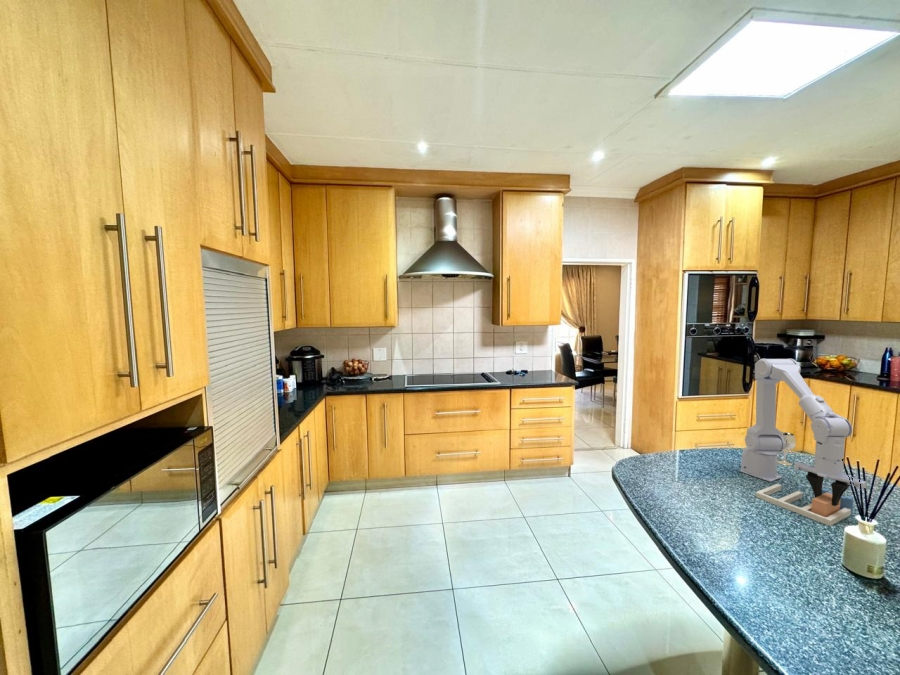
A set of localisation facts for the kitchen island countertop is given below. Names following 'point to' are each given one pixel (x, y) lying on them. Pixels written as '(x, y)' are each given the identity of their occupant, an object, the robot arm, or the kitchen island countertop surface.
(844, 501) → the blue bracket
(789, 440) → the wineglass
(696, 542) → the kitchen island countertop surface
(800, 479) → the kitchen island countertop surface
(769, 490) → the comb organizer
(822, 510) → the tall peach block
